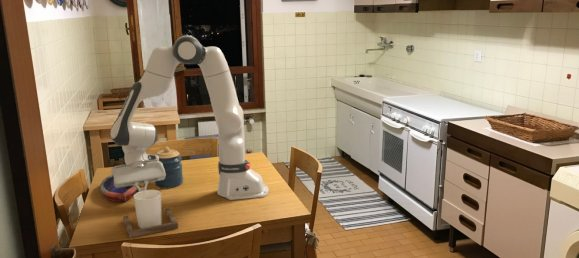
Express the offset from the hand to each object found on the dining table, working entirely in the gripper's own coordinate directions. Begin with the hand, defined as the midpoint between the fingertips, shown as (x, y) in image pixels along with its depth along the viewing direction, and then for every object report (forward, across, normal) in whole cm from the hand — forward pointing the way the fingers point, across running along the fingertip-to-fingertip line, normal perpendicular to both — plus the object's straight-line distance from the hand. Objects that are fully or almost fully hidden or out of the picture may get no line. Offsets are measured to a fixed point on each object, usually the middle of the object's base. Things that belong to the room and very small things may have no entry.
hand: (143, 192), depth 186 cm
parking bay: (+16, 0, -6) cm, 17 cm away
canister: (-12, +15, +23) cm, 30 cm away
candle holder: (+16, -1, -6) cm, 17 cm away
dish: (-12, -7, +22) cm, 26 cm away
